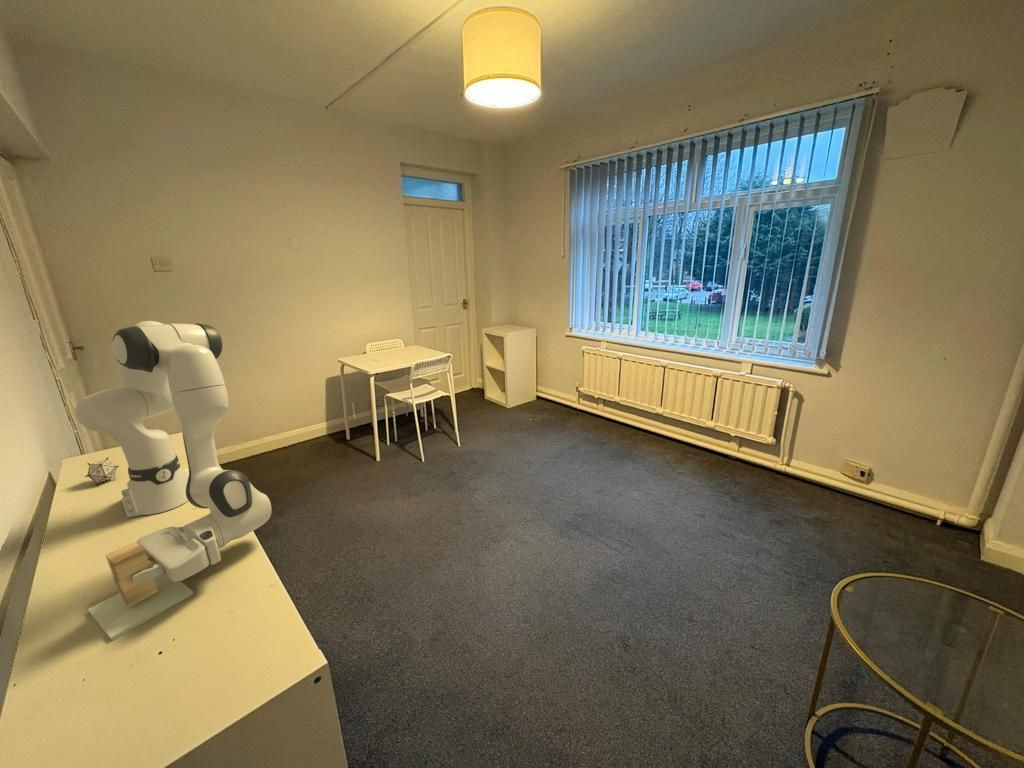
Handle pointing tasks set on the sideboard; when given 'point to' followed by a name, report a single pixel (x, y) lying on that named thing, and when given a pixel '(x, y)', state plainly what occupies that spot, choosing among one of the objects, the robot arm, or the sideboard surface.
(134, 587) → the maple block
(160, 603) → the sage mat
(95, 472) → the game die
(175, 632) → the sideboard surface
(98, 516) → the sideboard surface
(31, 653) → the sideboard surface
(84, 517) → the sideboard surface
